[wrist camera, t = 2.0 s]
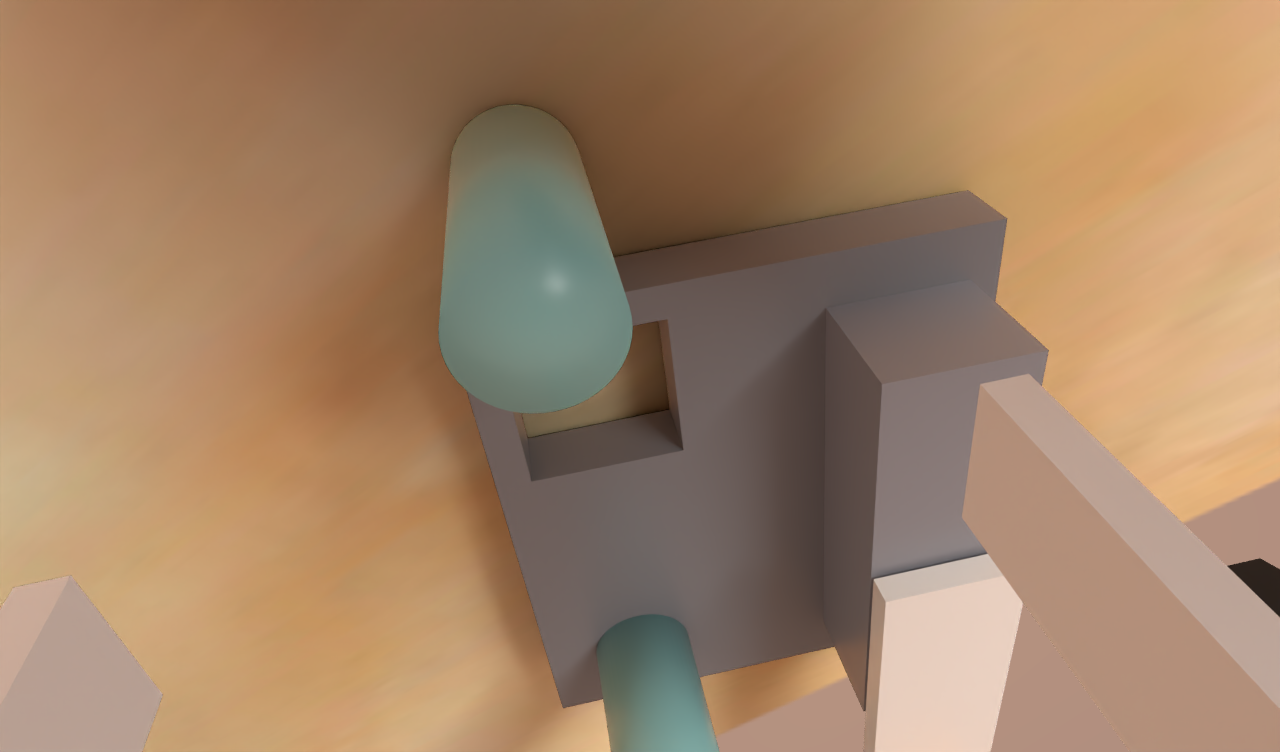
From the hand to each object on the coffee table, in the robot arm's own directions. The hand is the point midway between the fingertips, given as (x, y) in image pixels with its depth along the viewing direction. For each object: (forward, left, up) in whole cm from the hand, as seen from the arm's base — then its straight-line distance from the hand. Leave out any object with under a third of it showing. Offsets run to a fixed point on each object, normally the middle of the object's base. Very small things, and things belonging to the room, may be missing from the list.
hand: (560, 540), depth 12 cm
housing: (+13, +6, -16) cm, 22 cm away
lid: (+21, +12, -9) cm, 26 cm away
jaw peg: (0, 0, -16) cm, 16 cm away
